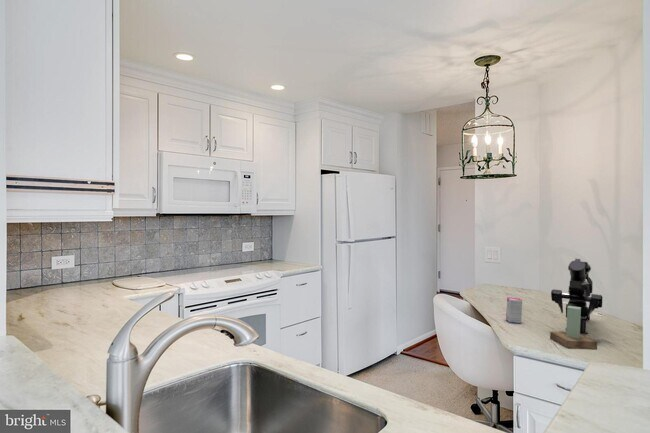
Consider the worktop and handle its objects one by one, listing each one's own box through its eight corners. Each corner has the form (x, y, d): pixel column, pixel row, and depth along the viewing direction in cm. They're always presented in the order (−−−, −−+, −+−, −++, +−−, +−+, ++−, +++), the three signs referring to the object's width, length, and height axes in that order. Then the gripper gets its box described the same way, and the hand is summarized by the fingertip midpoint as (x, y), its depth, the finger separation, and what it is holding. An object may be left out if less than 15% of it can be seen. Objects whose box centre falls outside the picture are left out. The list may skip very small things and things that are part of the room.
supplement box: (521, 324, 194) (522, 300, 194) (508, 323, 195) (509, 299, 195) (518, 320, 200) (519, 297, 200) (505, 320, 201) (506, 297, 201)
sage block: (567, 334, 170) (568, 305, 169) (579, 336, 167) (580, 307, 167) (566, 336, 166) (567, 307, 166) (579, 339, 163) (580, 309, 163)
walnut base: (578, 339, 173) (578, 332, 172) (597, 349, 161) (597, 341, 160) (550, 338, 173) (550, 331, 173) (566, 348, 161) (567, 340, 161)
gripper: (552, 271, 180) (548, 300, 171) (603, 276, 169) (601, 307, 160) (553, 286, 186) (549, 314, 178) (602, 291, 176) (601, 322, 167)
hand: (574, 314), depth 170 cm, fingers open, 9 cm apart
